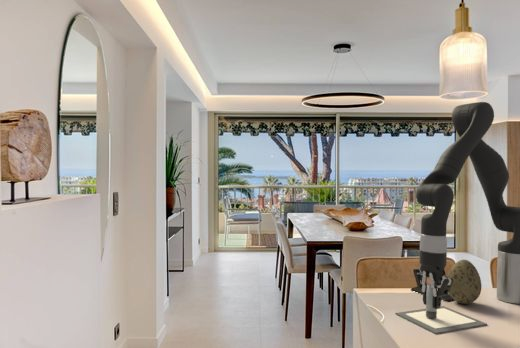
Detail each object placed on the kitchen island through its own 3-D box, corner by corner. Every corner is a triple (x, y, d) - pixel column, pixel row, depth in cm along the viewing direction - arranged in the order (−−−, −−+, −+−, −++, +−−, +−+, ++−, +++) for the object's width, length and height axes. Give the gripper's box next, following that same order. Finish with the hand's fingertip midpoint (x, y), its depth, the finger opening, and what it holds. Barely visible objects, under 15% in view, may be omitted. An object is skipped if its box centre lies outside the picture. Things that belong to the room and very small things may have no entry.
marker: (431, 314, 122) (432, 275, 122) (439, 317, 119) (440, 277, 119) (423, 315, 120) (424, 276, 120) (431, 319, 118) (432, 278, 117)
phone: (422, 285, 154) (459, 296, 141) (422, 288, 154) (459, 299, 141) (409, 288, 150) (446, 299, 137) (409, 291, 150) (446, 303, 137)
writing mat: (443, 307, 131) (443, 305, 131) (487, 325, 117) (487, 323, 117) (395, 314, 124) (395, 312, 124) (435, 334, 109) (435, 332, 109)
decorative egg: (488, 307, 132) (489, 263, 132) (460, 309, 130) (461, 263, 129) (465, 297, 142) (466, 256, 142) (439, 299, 140) (440, 256, 140)
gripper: (461, 253, 114) (460, 312, 115) (424, 244, 127) (423, 298, 128) (442, 254, 112) (440, 315, 112) (406, 245, 125) (405, 300, 125)
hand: (431, 306), depth 120 cm, fingers closed on marker, 3 cm apart
